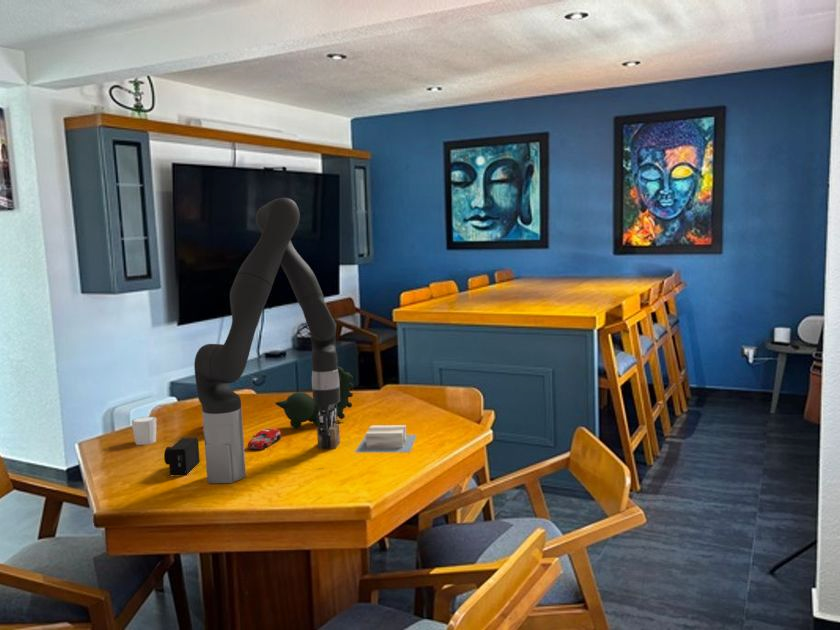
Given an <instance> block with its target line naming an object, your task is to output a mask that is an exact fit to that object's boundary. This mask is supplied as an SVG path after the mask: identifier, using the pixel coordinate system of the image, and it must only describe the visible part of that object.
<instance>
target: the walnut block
mask: <svg viewBox="0 0 840 630" xmlns="http://www.w3.org/2000/svg"><path fill="white" fill-rule="evenodd" d="M323 431H325V428H324V429H323ZM330 433H331V434H330V442H331V448H330V449H329V450H331V449H335V450H336V449H337V448H338V446H339V445H340V444H341V441H340V440H341V437H340V436H341V435H340V424H339V423H337V424H334V425H333V424H332V427H331V428H330ZM316 438H317V449H323V448H322V436H321V435H319V432H318V428H317V429H316ZM323 450H324V449H323Z"/></svg>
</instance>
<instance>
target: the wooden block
mask: <svg viewBox="0 0 840 630" xmlns="http://www.w3.org/2000/svg"><path fill="white" fill-rule="evenodd" d="M406 435H407V424H404V425H403V424H399V425H398V424H395V425H392V424H390V425H389V424H387V425H386V424H385V425H383V424H382V425H381V424H380V425H370V427H369V428H368V430H367V431H366V432H365V436H366V447H367V448H403V446H404V444H405V441H406V439H407V438H406Z"/></svg>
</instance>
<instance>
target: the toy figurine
mask: <svg viewBox="0 0 840 630" xmlns="http://www.w3.org/2000/svg"><path fill="white" fill-rule="evenodd" d="M338 373H339V384H340V402H339V403H336V404H337V418H338V419H340V420H343V419H345V417H346V415H345V413H344V409H346V408H352V407H353V403H352V402H351V401H350V400H349V398H353V397H354V393H353V392H351V390H350V389H351V388H353V387H354V384H353V383H351V381H352V380H353V379H354V377H353V375H351V374H350V372H348V371H344V369H343V368H342V367H341V366H338ZM349 401H350V402H349ZM275 405H276V406H278V407H280V408H281V409H282V410H283V411H284V414H285V416H286V417H287V419H288V420H290V421H289V424H290V427H292V428H293V429H297V430H298V429H300V428H301V427H302V423H305V422H309V423H313V425H315V426H316V427H318V424H317V415H319V410H320V405H316V404H314V403H313V396H311V395H310V394H309V393H306V392H302V391H297V392H294V393H292V394H290V395H289V396H287V398H286V399H285V400H281V401H276V402H275Z"/></svg>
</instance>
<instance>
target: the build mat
mask: <svg viewBox="0 0 840 630" xmlns="http://www.w3.org/2000/svg"><path fill="white" fill-rule="evenodd" d="M417 436H418V435H417V434H406V438H407V439H406V441H405V444H404V446H403V448H367V447H366V435H364V438H363V439H362V440H361V442H360V443H359V445H358V446H357V448H356V449H355V451H354V453H411V451H412V448H413V446H414V444H415V440H416V438H417Z"/></svg>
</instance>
